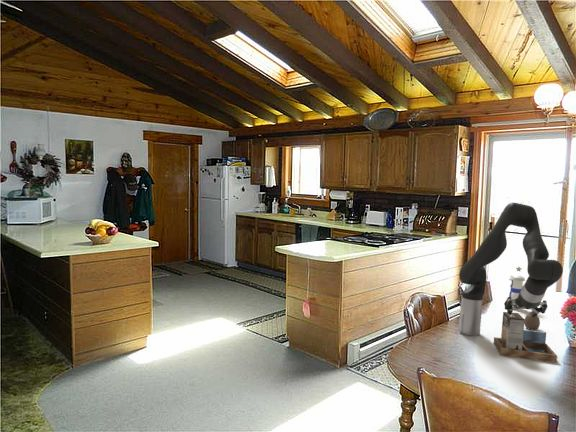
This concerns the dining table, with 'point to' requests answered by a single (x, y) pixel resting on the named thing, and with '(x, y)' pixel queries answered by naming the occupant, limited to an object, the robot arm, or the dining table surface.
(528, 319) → the vase
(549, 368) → the dining table surface
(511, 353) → the organiser
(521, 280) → the white blue toy tower
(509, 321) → the coffee box
